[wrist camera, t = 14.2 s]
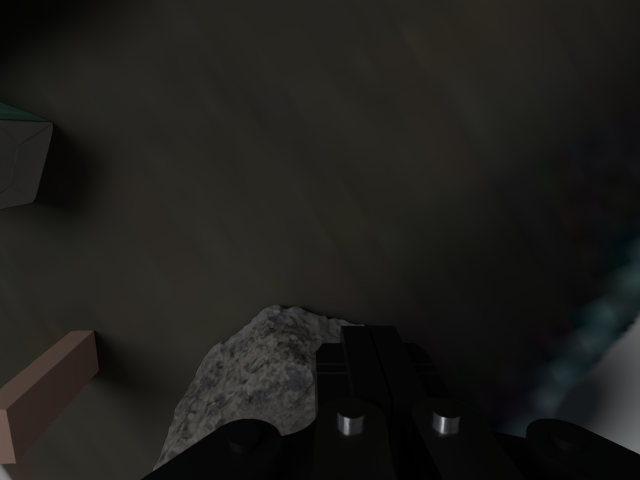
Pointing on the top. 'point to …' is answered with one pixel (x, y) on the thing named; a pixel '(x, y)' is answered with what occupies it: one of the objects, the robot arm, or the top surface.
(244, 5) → the top surface
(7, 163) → the box
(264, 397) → the petrified wood
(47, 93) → the top surface
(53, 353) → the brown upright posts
